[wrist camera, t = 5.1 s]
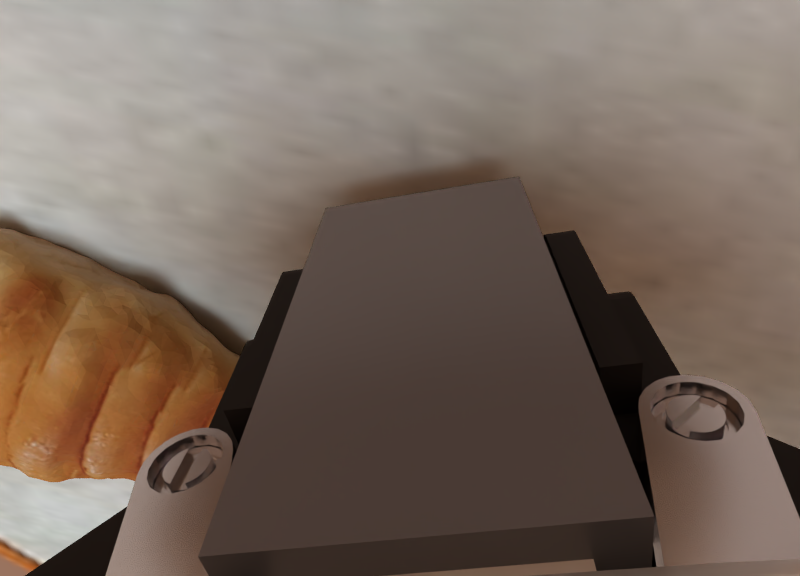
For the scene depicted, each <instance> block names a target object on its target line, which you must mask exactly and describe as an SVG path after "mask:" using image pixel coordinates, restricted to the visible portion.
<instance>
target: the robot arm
mask: <svg viewBox="0 0 800 576" xmlns="http://www.w3.org/2000/svg"><path fill="white" fill-rule="evenodd" d="M544 240H545V243H546V245H547V248H548V251H549V253H550V256H551V258H552V261H553V263H554V266H555V268H556V271H557V273H558V276H559V278H560V281H561V283H562V286H563V288H564V291H565V293H566V296H567V298H568V301H569V303H570V306H571V308H572V311H573V313H574V316H575V318H576V321H577V323H578V326H579V328H580V331H581V333H582V336H583V338H584V341H585V343H586V346H587V348H588V351H589V353H590V356H591V358H592V361H593V364H594V366H595V369H596V371H597V374H598V376H599V379H600V381H601V384H602V386H603V389H604V391H605V394H606V396H607V399H608V401H609V404H610V406H611V409H612V411H613V414H614V416H615V419H616V421H617V424H618V426H619V429H620V431H621V434H622V436H623V439H624V441H625V444H626V446H627V449H628V451H629V454H630V456H631V459H632V461H633V464H634V466H635V469H636V471H637V474H638V477H639V479H640V482H641V484H642V487H643V489H644V492H645V494H646V497H647V499H648V502H649V504H650V507H651V509H652V512H653V514H654V535H653V555H652V567H649V568H634V569H620V570H605V571H590V572H575V573H561V574H546V575H531V576H800V449H798V448H796V447H793V446H791V445H788V444H786V443H783V442H781V441H778V440H776V439H773V438H771V437H768V436H767V435H766V433H765V430H764V428H763V425H762V423H761V420H760V418H759V416H758V413H757V411H756V409H755V408H754V406H753V405H752V403H751V401H750V400H749V399H748V398H747V397H746V396H745V395H743V394H742V393H741V392H740V391H738V390H737V389H736V388H734V387H732V386H730V385H728V384H726V383H724V382H722V381H718V380H715V379H711V378H708V377H704V376H695V375H680V374H679V372H678V370H677V368H676V367H675V365H674V363H673V362H672V360H671V358H670V357H669V355H668V353H667V351H666V350H665V348H664V346H663V345H662V343H661V341H660V340H659V338H658V336H657V334H656V333H655V331H654V329H653V328H652V326H651V324H650V322H649V321H648V319H647V317H646V316H645V314H644V312H643V311H642V309H641V307H640V305H639V304H638V302H637V300H636V299H635V297H634V296H633V294H632V293H631V292H621V293H613V294H607V292H606V290H605V288H604V287H603V285H602V283H601V281H600V279H599V277H598V275H597V273H596V271H595V269H594V267H593V265H592V263H591V261H590V259H589V257H588V255H587V254H586V252H585V250H584V248H583V246H582V244H581V242H580V240H579V238H578V236H577V234H576V232H575V231H567V232H560V233H553V234H546V235H544ZM302 272H303V269H301V270H294V271H287V272H283V273H282V275H281V277H280V279H279V282H278V284H277V286H276V289H275V291H274V293H273V296H272V298H271V300H270V303H269V305H268V307H267V310H266V312H265V314H264V317H263V319H262V322H261V324H260V326H259V329H258V331H257V333H256V336H255V338H254V340H250V341H248V342H247V343H246V345H245V346H244V348H243V351H242V353H241V355H240V357H239V360H238V362H237V364H236V366H235V369H234V371H233V373H232V376H231V378H230V380H229V382H228V385H227V387H226V389H225V391H224V394H223V396H222V398H221V400H220V403H219V405H218V407H217V409H216V412H215V414H214V416H213V419H212V421H211V423H210V425H209V428H199V429H192V430H190V431H187V432H184V433H181V434H178V435H176V436H175V437H173V438H171V439H169V440H167V441H165V442H164V443H163V444H162V445H160V446H159V447H158V448H157V449H155V450H154V451H153V452H152V453H151V454H150V455H149V457H148V458H147V459H146V460H145V461H144V462H143V464H142V466H141V468H140V470H139V472H138V474H137V477H136V481H135V484H134V487H133V490H132V493H131V496H130V500H129V503H128V506H127V507H126V508H124V509H123V510H121V511H120V512H119V513H117V514H116V515H114V516H113V517H111V518H110V519H108V520H107V521H105V522H104V523H102V524H101V525H99V526H98V527H96V528H95V529H93V530H92V531H90V532H89V533H87V534H86V535H84V536H83V537H82V538H80V539H79V540H77V541H76V542H74V543H73V544H71V545H70V546H68V547H67V548H65V549H64V550H62V551H61V552H59V553H58V554H56V555H55V556H53V557H52V558H50V559H49V560H48V561H46V562H45V563H43V564H42V565H40V566H39V567H37V568H36V569H34V570H33V571H31V572H30V573H28V574H27V575H25V576H209V575H208V573H207V572H206V570H205V568H204V566H203V565H202V563H201V561H200V560H199V558H198V555H199V553H200V550H201V547H202V544H203V542H204V539H205V536H206V533H207V531H208V528H209V525H210V523H211V520H212V517H213V514H214V512H215V509H216V506H217V503H218V501H219V498H220V495H221V493H222V490H223V487H224V484H225V482H226V479H227V476H228V473H229V471H230V468H231V465H232V463H233V460H234V457H235V454H236V452H237V449H238V446H239V443H240V441H241V438H242V435H243V433H244V430H245V427H246V424H247V422H248V419H249V416H250V413H251V411H252V408H253V405H254V403H255V400H256V397H257V394H258V392H259V389H260V386H261V383H262V381H263V378H264V375H265V372H266V370H267V367H268V364H269V362H270V359H271V356H272V353H273V351H274V348H275V345H276V342H277V340H278V337H279V334H280V332H281V329H282V326H283V323H284V321H285V318H286V315H287V312H288V310H289V307H290V304H291V302H292V299H293V296H294V293H295V291H296V288H297V285H298V282H299V280H300V277H301V274H302Z"/></svg>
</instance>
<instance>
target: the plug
mask: <svg viewBox="0 0 800 576" xmlns="http://www.w3.org/2000/svg"><path fill="white" fill-rule="evenodd" d="M653 535H654V514H653V512H652V509H651V507H650V504H649V502H648V499H647V497H646V494H645V492H644V489H643V487H642V484H641V482H640V479H639V477H638V474H637V471H636V469H635V466H634V464H633V461H632V459H631V456H630V454H629V451H628V449H627V446H626V444H625V441H624V439H623V436H622V434H621V431H620V429H619V426H618V424H617V421H616V419H615V416H614V414H613V411H612V409H611V406H610V404H609V401H608V399H607V396H606V394H605V391H604V389H603V386H602V384H601V381H600V379H599V376H598V374H597V371H596V369H595V366H594V364H593V361H592V358H591V356H590V353H589V351H588V348H587V346H586V343H585V341H584V338H583V336H582V333H581V331H580V328H579V326H578V323H577V321H576V318H575V316H574V313H573V311H572V308H571V306H570V303H569V301H568V298H567V296H566V293H565V291H564V288H563V286H562V283H561V281H560V278H559V276H558V273H557V271H556V268H555V266H554V263H553V261H552V258H551V256H550V253H549V251H548V248H547V245H546V243H545V240H544V238H543V235H542V233H541V230H540V228H539V225H538V223H537V220H536V218H535V215H534V213H533V210H532V208H531V205H530V203H529V200H528V198H527V195H526V193H525V190H524V188H523V185H522V183H521V180H520V178H519V177H513V178H507V179H501V180H495V181H489V182H483V183H477V184H470V185H464V186H458V187H452V188H446V189H440V190H434V191H428V192H422V193H415V194H409V195H403V196H397V197H391V198H385V199H379V200H373V201H367V202H360V203H354V204H348V205H342V206H336V207H330V208H326V209H325V212H324V214H323V217H322V220H321V222H320V225H319V228H318V231H317V233H316V236H315V239H314V242H313V244H312V247H311V250H310V252H309V255H308V258H307V261H306V263H305V266H304V269H303V272H302V274H301V277H300V280H299V282H298V285H297V288H296V291H295V293H294V296H293V299H292V302H291V304H290V307H289V310H288V312H287V315H286V318H285V321H284V323H283V326H282V329H281V332H280V334H279V337H278V340H277V342H276V345H275V348H274V351H273V353H272V356H271V359H270V362H269V364H268V367H267V370H266V372H265V375H264V378H263V381H262V383H261V386H260V389H259V392H258V394H257V397H256V400H255V403H254V405H253V408H252V411H251V413H250V416H249V419H248V422H247V424H246V427H245V430H244V433H243V435H242V438H241V441H240V443H239V446H238V449H237V452H236V454H235V457H234V460H233V463H232V465H231V468H230V471H229V473H228V476H227V479H226V482H225V484H224V487H223V490H222V493H221V495H220V498H219V501H218V503H217V506H216V509H215V512H214V514H213V517H212V520H211V523H210V525H209V528H208V531H207V533H206V536H205V539H204V542H203V544H202V547H201V550H200V553H199V555H198V558H199V560H200V561H201V563H202V565H203V566H204V568H205V570H206V572H207V573H208V575H209V576H531V575H546V574H561V573H575V572H590V571H605V570H620V569H634V568H649V567H652V555H653Z"/></svg>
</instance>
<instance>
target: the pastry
mask: <svg viewBox="0 0 800 576" xmlns="http://www.w3.org/2000/svg"><path fill="white" fill-rule="evenodd" d="M239 357H240V356H239V355H238V354H236V353H233V352H231V351H230V350H229V349H227V348H225V347H224V346H223V345H222V344H221V343H220V342H219V341H218V340H217V339H216V337H215V336H214V335H213V334H212V333H211V332H209V331H208V330H207V329H206V328H204V327H203V326H202V325H201V324H199V323H198V322H197V321H196V320H195V319H194V317H193V316H192V315H191V313H190V312H189V311H188V310H187V309H186V308H185V307H184V306H183V305H182V304H181V303H180V302H178V301H177V300H176V299H175V298H173V297H171V296H170V295H167V294H157V293H154V292H151V291H149V290H148V289H146V288H145V287H143V286H142V285H140V284H139V283H137V282H135V281H133V280H131V279H128V278H126V277H124V276H121V275H119V274H117V273H115V272H113V271H111V270H109V269H107V268H106V267H104V266H102V265H100V264H98V263H97V262H95V261H94V260H92V259H90V258H88V257H85V256H82V255H80V254H77V253H75V252H73V251H71V250H69V249H66V248H63V247H60V246H58V245H55V244H53V243H51V242H49V241H47V240H44V239H40V238H37V237H33V236H29V235H26V234H22V233H20V232H17V231H15V230H12V229H1V228H0V465H3V466H10V467H14V468H16V469H19V470H20V471H22V472H23V473H25V474H26V475H27V476H29V477H32V478H37V479H41V480H45V481H49V482H61V481H64V480H67V479H73V478H93V479H106V478H110V479H117V478H125V479H130V480H133V481H136V477H137V474H138V472H139V470H140V468H141V466H142V464H143V462H144V461H145V460H146V459H147V458H148V457H149V455H150V454H151V453H152V452H153V451H154V450H155V449H157V448H158V447H159V446H160V445H162V444H163V443H164V442H165V441H167V440H169V439H171V438H173V437H175V436H176V435H178V434H181V433H184V432H187V431H190V430H192V429H199V428H209V425H210V423H211V421H212V419H213V416H214V414H215V412H216V409H217V407H218V405H219V403H220V400H221V398H222V396H223V394H224V391H225V389H226V387H227V385H228V382H229V380H230V378H231V376H232V373H233V371H234V369H235V366H236V364H237V362H238V360H239Z"/></svg>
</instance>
